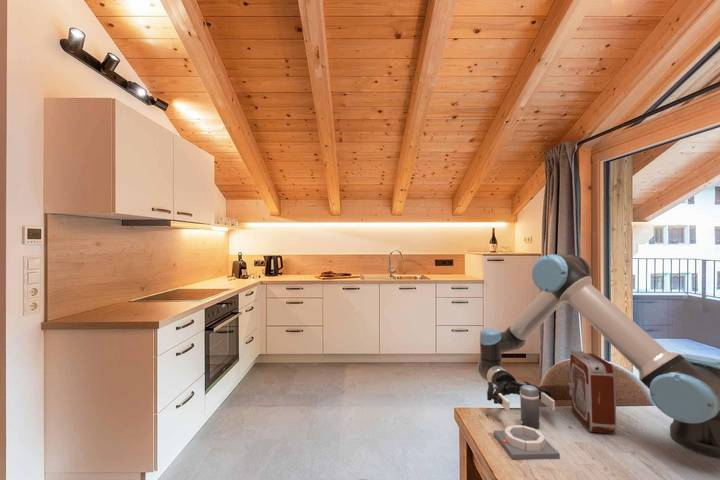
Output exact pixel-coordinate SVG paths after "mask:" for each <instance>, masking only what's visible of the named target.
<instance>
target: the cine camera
mask: <svg viewBox="0 0 720 480" xmlns="http://www.w3.org/2000/svg"><path fill="white" fill-rule="evenodd" d="M569 357H570V358H569V361H570V362H569V363H570V364H569V365H570V373H569V380H570V382H567V384H568V387H569V392H568V395H569V396H570V397H571V409H572V410H571V411H572V413H573V415H574V416H575V417H576V418H577V419H578V420H579V421H580V423H581V424H582V425H583V426H584V427H585V428H586V430H587V431H589V432H591V433H602V434H616V432H617V405H616V404H617V397H616V379H615V375H616V374H615V369H614V366H613V364H612V363H609V362H608V361H606V360H605V359H603V358H602V357H600V356H598V355H596V354H594V353H587V352H584V351H582V350H571V351H570V355H569Z"/></svg>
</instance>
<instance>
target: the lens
mask: <svg viewBox="0 0 720 480" xmlns="http://www.w3.org/2000/svg"><path fill="white" fill-rule="evenodd" d="M519 396H520V401H519V402H520V425H523V426H527V427H530V428H534V429H537V430H540V428H539V427H540V399H539V390H538V388H536V387H534V386H531V385H523V386H521V387H520V395H519Z"/></svg>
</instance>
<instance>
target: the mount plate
mask: <svg viewBox="0 0 720 480" xmlns="http://www.w3.org/2000/svg"><path fill="white" fill-rule="evenodd" d="M493 436H494V437H495V439H496V440H497V441H498V442H499V444H500V445H501V446H502V447H503V449H504V450H505V452H506V453H507V454H508V455H509V457H510V458H511V460H542V459H543V460H544V459H546V460H547V459H550V460H551V459H552V460H553V459H555V460H556V459H560V457H561V455H560V452H559V451H558V450H556V448H555V447H554V446H553V445H551V444H550V443H549V441H547V440H546V436H545V435H544V434H543V433H542V432H541V431H540V429H534V428H530V427H527V426H523V425H521V424H519V425H518V424H517V425H516V424H513V425H508V427H506V428H504V429H503V430H493Z"/></svg>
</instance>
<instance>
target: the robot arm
mask: <svg viewBox="0 0 720 480" xmlns="http://www.w3.org/2000/svg"><path fill="white" fill-rule="evenodd" d="M531 274H532V275H531V276H532V281H533V283H534V285H535V286H536V287H537V288H538V289H539V290H541V292H539V293H538V295H537V296H536V297H535V298H534V299H533V300H532V301H531V302H530V303H529V305H528V306H526V308H525V309H524V310H523V311H522V312H521V313H520V314H519V315H518V317H516V318H515V320H514V321H513V322H512V323H511V324H510V326H508V327H507V329H506V330H505V331H502V332H501V331H499V330H498V329H494V328H483V329H482V330H480V333H479V334H480V336H479V346H480V347H479V349H480V350H479V351H480V360H479V361H478V363H477V368H476V369H477V372H478V374H479V375H480V376H481V378H483V379H484V380H485V381H486V382H487V387H488V388H487V390H486V391H487V392H486V397H487V398H486V400H487V401H492V400H493V404H495V405H497V404H498V405H501V406H502V407H503V408H504V410H506V411H507V412H510V410H511V409H510V408H511V407H510V401H509V400H508V399H507V398H506V397H505V396H508V395H511V394H512V395H518V396H520V387H521V386H523V385H531V386H534V387H536V388H538V390H539V400H541V401H540V402H541V403H543V405H545V406H546V407H547V408H549V409H551V410H552V411H556V401H555V400H554V399H553V398H552V395H551V394H552V393H551V391H550V390H548V389H545V388H543V387H540V386H537V385H535V384H532V383H529V382H528V381H524V382H523V383H521V382H518V381H517V380H516V378H515V377H514V376H513V374H511V373H510V372H508V371H507V369H504V368H503V367H502V354H503V353H507V352H511V351H512V352H513V351H517V350H519V349H521V348H523V347H525V345H526V342H527V339H528V338H529V337H531V335H532V334H533V333H534V332H535V331H536V330H537V329H538V328H539V327H540V326H541V325H542V324H543V323H544V322H545V321H546V320H547V319H548V318H549V317H551V315H552V314H553V313H554V312H555V311H556V310H558V308H559V307H560V306H561V305H562V304H565V303H566V304H569V305H571V307H572V308H573V309H574V310H575V311H577V312H578V314H580V315H581V317H583V318H584V320H586V321H587V322H588V323H589V324H590V325H591V326H592V327H593V328H594V329H595V330H596V331H597V332H598V333H599V334H600V335H601V336H602V337H603V338H604V339H606V341H607V342H608V343H610V345H611V346H612V347H614V348H615V349H616V350H617V351H618V352H619V354H621V355H622V356H623V357H624V358H625V359H626V360H627V361H628V362H629V363H630V364H631V365H632V366H633V367H634V368H636V370H638V371H637V372H638V376H639V377H638V379H639V381H640V382H641V383H642V384H643V385H644V386H645V387H647V389H648V390H649V393H650V399H651V401H652V402H653V404H654V405H655V406H656V408H658V410H659V411H660V412H662V413H663V414H664V415H665V416H667V417H669V418H671V419H673V420H672V422H671V423H670V426H669V435H670V438H671V439H672V440H673V441H675V442H676V443H677V444H679V445H680V446H681V447H685V448H687V449H689V450H691V451H694V452H696V453H699V454H703V455H705V456H709V457H713V458H718V459H720V359H719V358H713V357H710V356H702V355H695V354H688V353H678V352H671V351H668V350H666V349H665V348H664V347H663V346H662V345H661V344H660V343H659V342H657V341H656V339H654V338H653V337H652V336H650V335H649V333H647V332H646V331H645V330H644V329H642V327H640V326H639V325H638V324H637V323H636V322H635V321H634V320H633V319H631V318H630V317H629V316H628V315H626V313H625V312H623V311H622V310H621V309H620V308H619V307H618V306H617V305H615V304H614V303H613V302H612V301H611V300H610V299H609V298H608V297H606V296H605V295H604V294H603V293H602V292H601V291H600V290H598V289H597V288H596V287H595V286H594V285H593V278H592V277H591V276H592V270H591V266H590V265H589V263H588V261H587V260H585V258H583V257H582V256H580V255H576V254H571V253H569V254H555V253H554V254H553V253H552V254H548V255H543V256H541V257H540V258H538V259H537V260H536V261H535V262H534V264H533V266H532V271H531Z"/></svg>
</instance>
